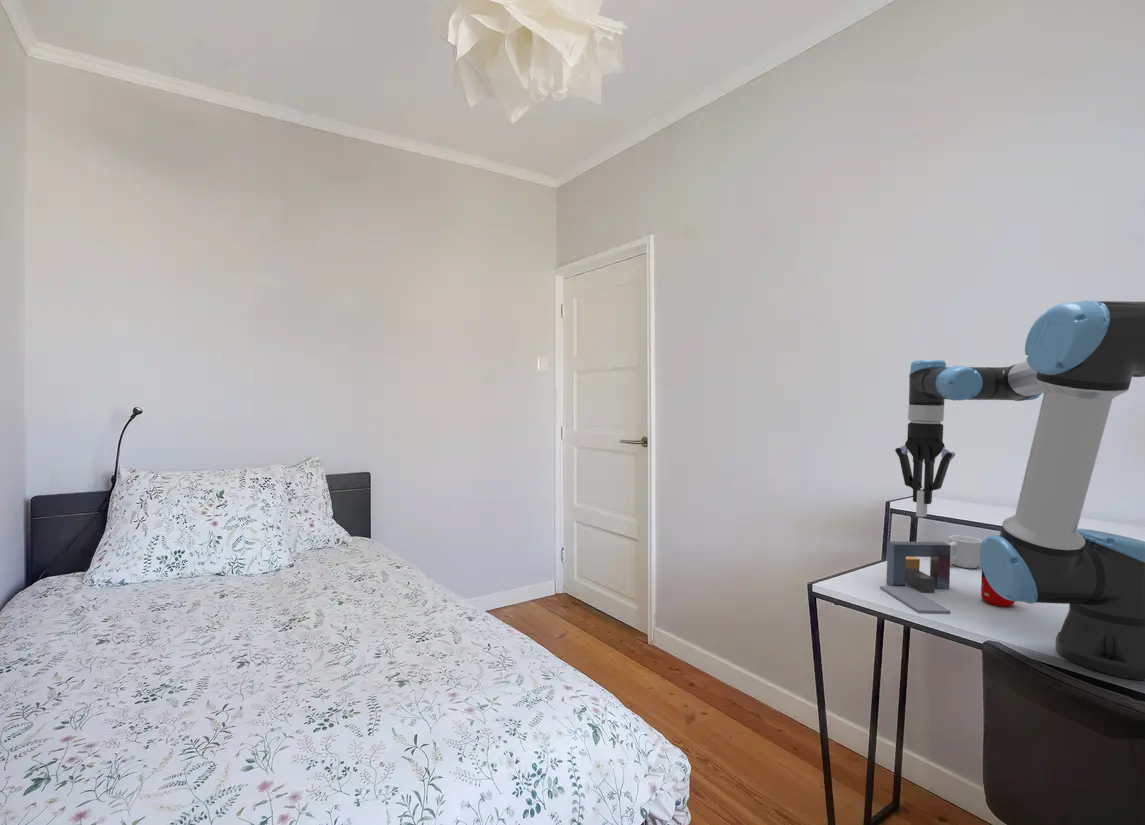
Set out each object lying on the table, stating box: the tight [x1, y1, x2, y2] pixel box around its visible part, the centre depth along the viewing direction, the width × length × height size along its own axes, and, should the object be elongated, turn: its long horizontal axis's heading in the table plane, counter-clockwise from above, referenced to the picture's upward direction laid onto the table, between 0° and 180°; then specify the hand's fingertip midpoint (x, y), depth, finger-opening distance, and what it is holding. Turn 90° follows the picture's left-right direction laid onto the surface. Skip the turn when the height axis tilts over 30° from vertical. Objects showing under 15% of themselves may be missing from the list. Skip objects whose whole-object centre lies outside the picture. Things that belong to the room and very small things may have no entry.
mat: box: [879, 585, 951, 615], centre depth 133 cm, size 16×7×1 cm, turn 179°
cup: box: [947, 534, 984, 569], centre depth 160 cm, size 11×8×8 cm
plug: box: [905, 557, 936, 594], centre depth 145 cm, size 13×5×6 cm, turn 179°
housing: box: [886, 541, 951, 590], centre depth 143 cm, size 3×14×11 cm, turn 89°
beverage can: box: [980, 569, 1016, 608], centre depth 131 cm, size 6×6×12 cm
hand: (921, 515), depth 142 cm, fingers closed
